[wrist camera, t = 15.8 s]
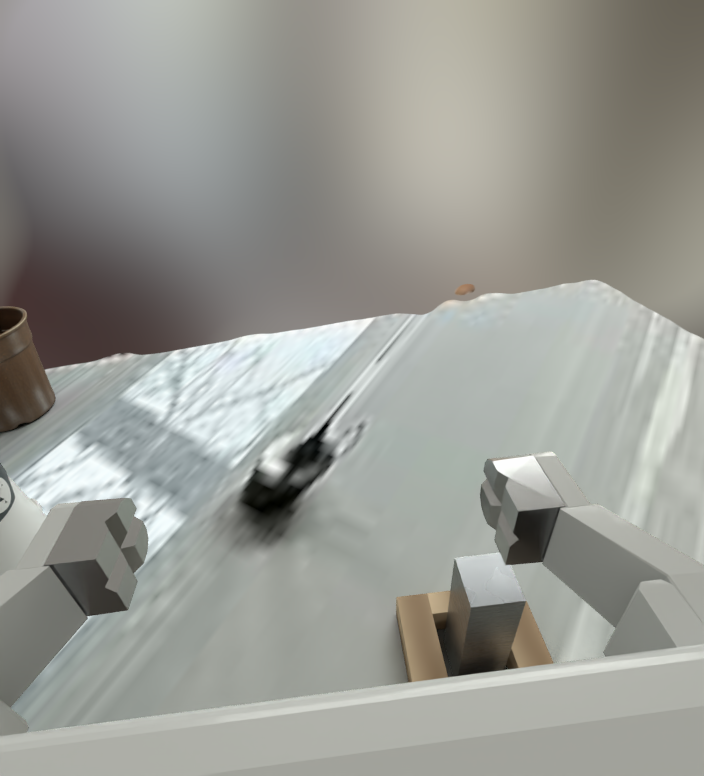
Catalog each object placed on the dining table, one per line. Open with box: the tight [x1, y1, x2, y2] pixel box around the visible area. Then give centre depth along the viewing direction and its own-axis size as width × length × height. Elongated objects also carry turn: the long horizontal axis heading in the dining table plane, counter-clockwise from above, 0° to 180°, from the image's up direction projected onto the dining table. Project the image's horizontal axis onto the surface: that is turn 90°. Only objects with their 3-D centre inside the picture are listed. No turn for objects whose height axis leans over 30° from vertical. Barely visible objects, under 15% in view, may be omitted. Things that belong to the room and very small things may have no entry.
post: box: [444, 553, 526, 677], centre depth 37 cm, size 4×4×13 cm
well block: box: [396, 591, 553, 682], centre depth 40 cm, size 12×10×3 cm
